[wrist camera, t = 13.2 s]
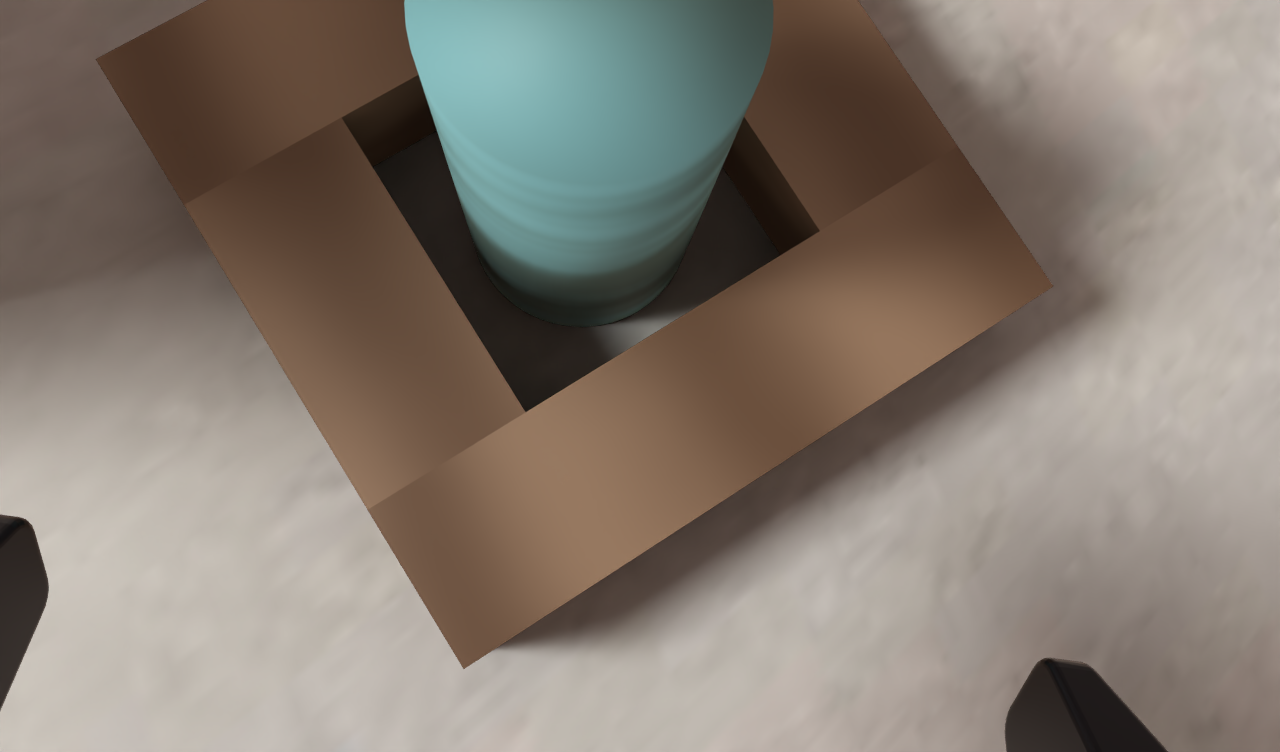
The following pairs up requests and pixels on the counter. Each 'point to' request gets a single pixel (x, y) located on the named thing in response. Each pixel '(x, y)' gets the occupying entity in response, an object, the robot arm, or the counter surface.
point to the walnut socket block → (621, 388)
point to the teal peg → (586, 135)
